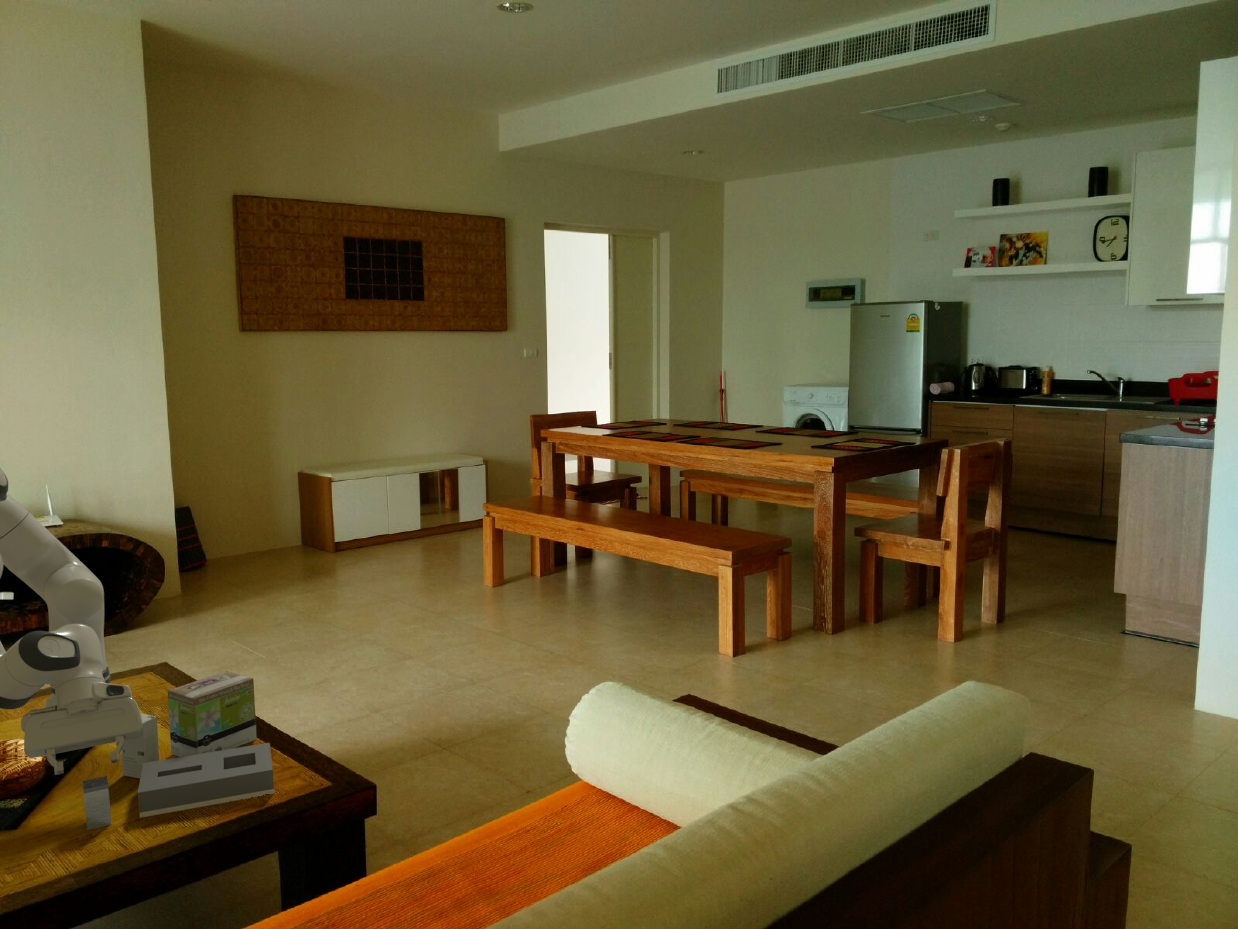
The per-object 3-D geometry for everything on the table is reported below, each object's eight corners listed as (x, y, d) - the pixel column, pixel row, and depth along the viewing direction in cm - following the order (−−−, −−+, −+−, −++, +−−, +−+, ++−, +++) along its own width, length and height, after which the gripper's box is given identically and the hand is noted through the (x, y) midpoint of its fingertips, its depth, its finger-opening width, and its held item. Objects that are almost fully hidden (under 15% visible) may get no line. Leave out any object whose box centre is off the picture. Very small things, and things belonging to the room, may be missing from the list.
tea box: (199, 765, 208) (193, 698, 206) (170, 755, 213) (164, 689, 211) (258, 739, 220) (254, 676, 218) (230, 730, 226) (225, 668, 224)
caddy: (145, 786, 198) (143, 763, 197) (271, 765, 207) (269, 742, 206) (139, 817, 185) (137, 792, 185) (274, 793, 194) (272, 769, 193)
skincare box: (122, 776, 203) (116, 720, 201) (138, 767, 207) (133, 712, 206) (146, 780, 201) (141, 723, 200) (162, 770, 205) (157, 715, 204)
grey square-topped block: (86, 821, 184) (82, 781, 183) (110, 815, 186) (106, 775, 185) (87, 830, 181) (83, 789, 180) (112, 824, 183) (108, 784, 182)
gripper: (19, 704, 186) (22, 773, 179) (138, 684, 196) (146, 748, 189) (21, 719, 191) (25, 787, 184) (138, 699, 201) (146, 762, 194)
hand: (87, 767), depth 186 cm, fingers open, 8 cm apart
